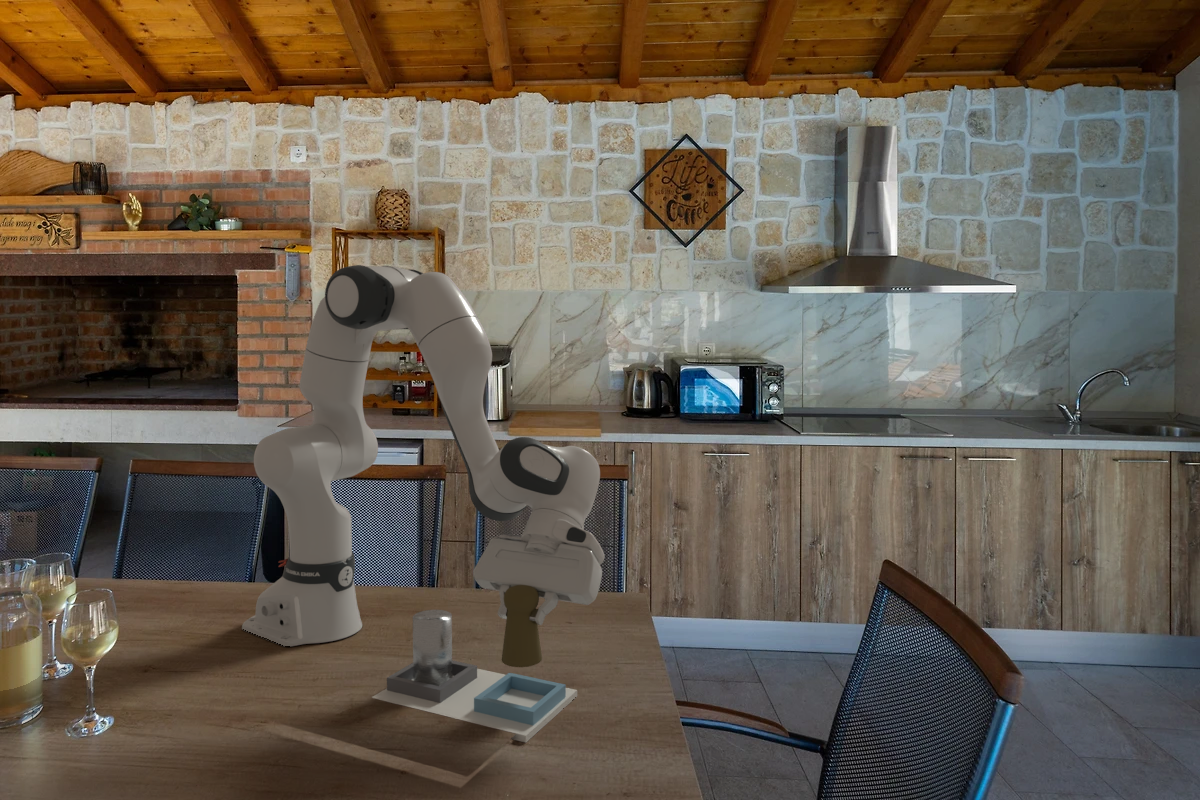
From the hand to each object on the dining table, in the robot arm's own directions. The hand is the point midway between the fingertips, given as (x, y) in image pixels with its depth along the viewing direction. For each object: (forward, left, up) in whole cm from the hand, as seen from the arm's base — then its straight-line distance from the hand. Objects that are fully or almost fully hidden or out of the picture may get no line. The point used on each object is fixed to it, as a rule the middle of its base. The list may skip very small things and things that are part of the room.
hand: (519, 619), depth 122 cm
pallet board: (-8, +1, -14) cm, 16 cm away
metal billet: (-16, +1, -13) cm, 21 cm away
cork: (0, +1, -6) cm, 6 cm away
